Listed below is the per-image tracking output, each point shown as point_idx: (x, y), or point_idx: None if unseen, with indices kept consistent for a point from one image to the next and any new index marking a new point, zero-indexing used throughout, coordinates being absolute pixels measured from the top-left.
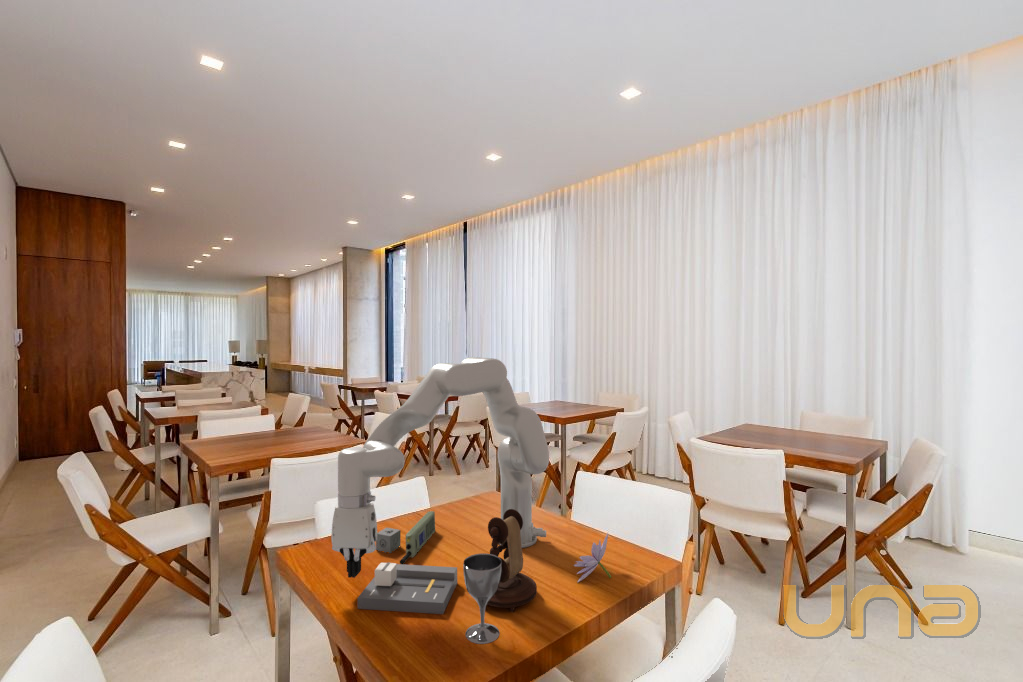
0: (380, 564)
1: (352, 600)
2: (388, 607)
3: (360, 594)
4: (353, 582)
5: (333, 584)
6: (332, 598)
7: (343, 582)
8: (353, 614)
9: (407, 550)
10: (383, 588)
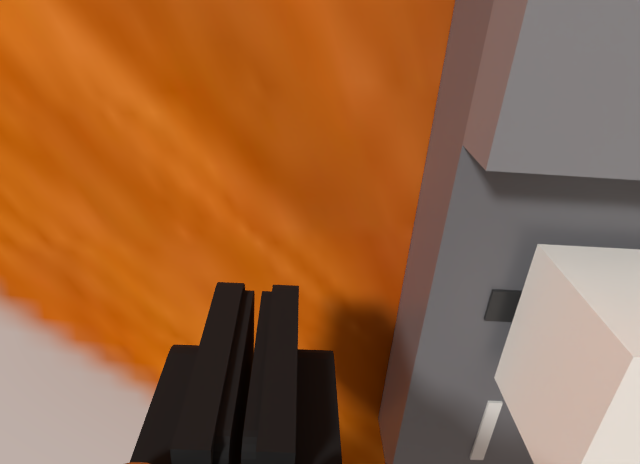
0: (627, 406)
1: (308, 343)
2: None
3: (397, 451)
4: (184, 76)
5: (5, 126)
6: (147, 329)
7: (80, 81)
8: (372, 460)
9: None
10: None
